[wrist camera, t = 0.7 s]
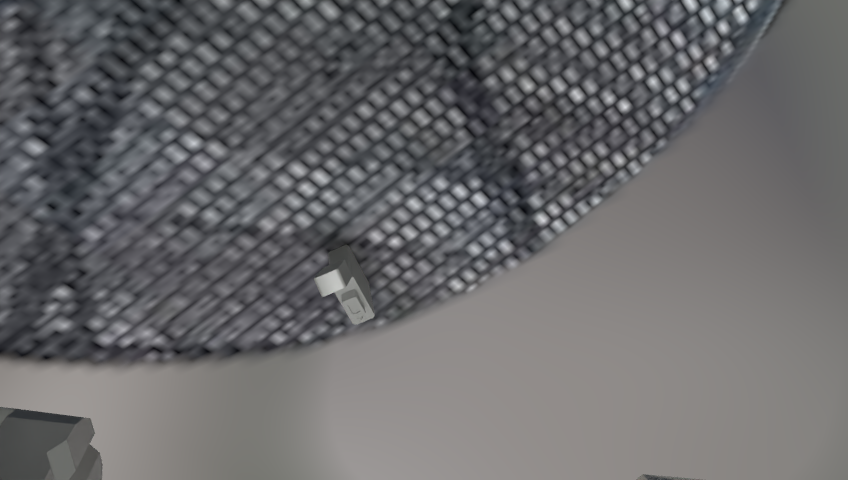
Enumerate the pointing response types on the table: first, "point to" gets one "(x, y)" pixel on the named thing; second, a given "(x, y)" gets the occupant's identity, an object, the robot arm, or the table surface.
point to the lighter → (347, 284)
